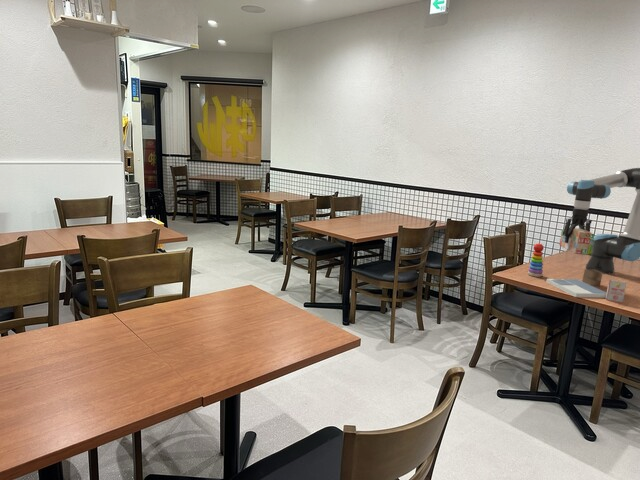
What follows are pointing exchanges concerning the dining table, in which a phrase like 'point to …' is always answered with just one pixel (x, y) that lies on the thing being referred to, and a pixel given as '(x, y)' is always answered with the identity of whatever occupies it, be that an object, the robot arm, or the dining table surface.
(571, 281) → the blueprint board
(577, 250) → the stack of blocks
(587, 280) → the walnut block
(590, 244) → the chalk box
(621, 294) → the white red printed box
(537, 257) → the stacking toy
